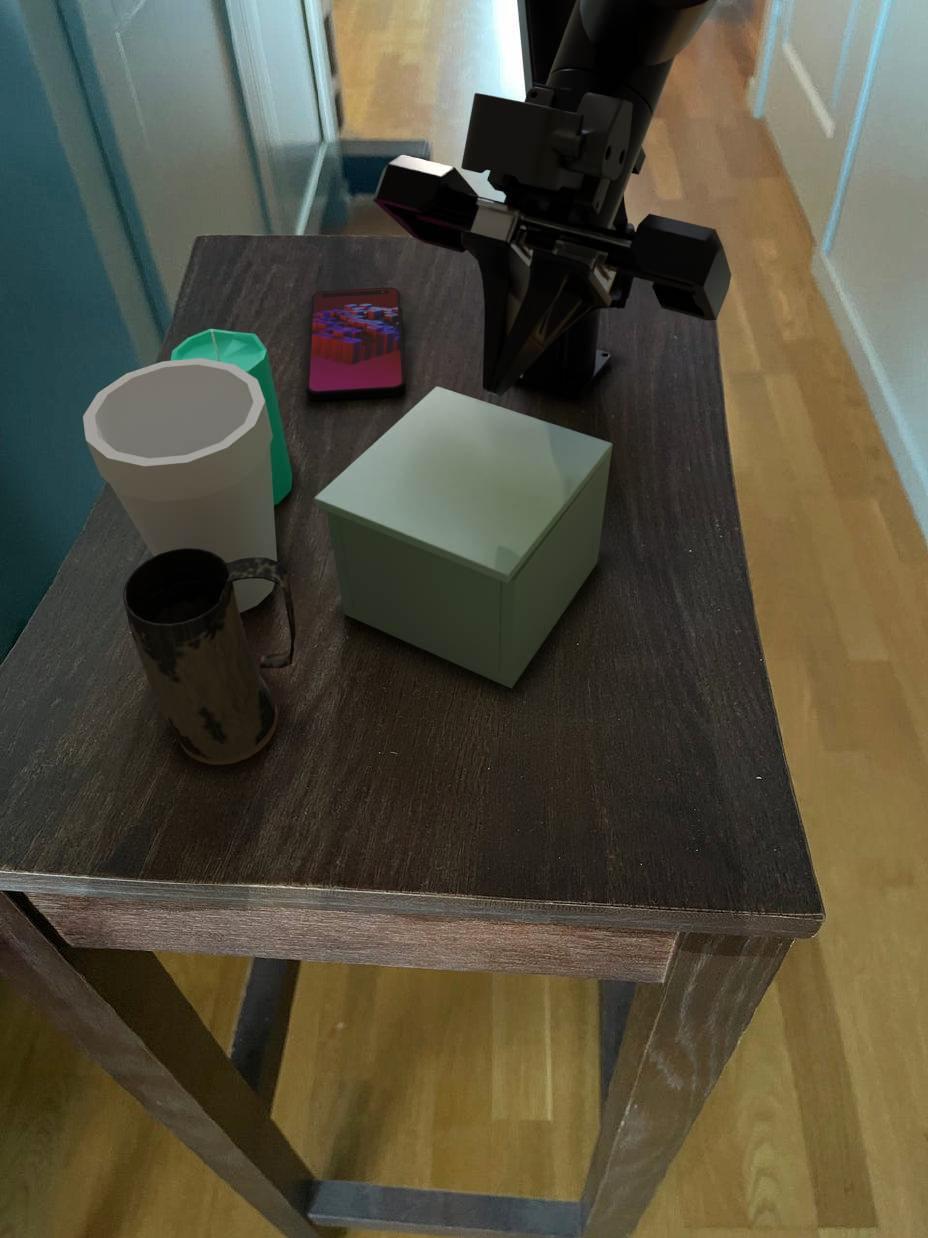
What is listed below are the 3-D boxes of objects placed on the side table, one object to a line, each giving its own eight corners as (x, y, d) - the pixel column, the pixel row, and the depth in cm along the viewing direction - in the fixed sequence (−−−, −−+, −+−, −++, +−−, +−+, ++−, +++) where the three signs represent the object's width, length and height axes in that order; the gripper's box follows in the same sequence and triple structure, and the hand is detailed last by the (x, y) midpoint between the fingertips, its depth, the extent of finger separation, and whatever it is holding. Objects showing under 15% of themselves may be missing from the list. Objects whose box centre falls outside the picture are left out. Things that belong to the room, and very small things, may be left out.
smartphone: (304, 393, 70) (310, 290, 79) (306, 403, 70) (312, 300, 80) (406, 387, 70) (399, 285, 80) (407, 397, 71) (400, 295, 80)
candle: (276, 518, 62) (240, 363, 53) (193, 508, 63) (144, 353, 54) (304, 462, 66) (275, 309, 57) (225, 453, 66) (185, 301, 57)
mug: (166, 768, 49) (94, 619, 40) (182, 685, 52) (119, 532, 43) (315, 760, 49) (276, 610, 40) (320, 678, 53) (286, 524, 44)
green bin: (511, 689, 52) (515, 581, 45) (344, 614, 56) (324, 505, 49) (597, 562, 58) (611, 452, 52) (442, 503, 62) (436, 394, 56)
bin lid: (507, 584, 44) (508, 575, 44) (314, 506, 48) (313, 497, 48) (611, 451, 52) (612, 443, 51) (436, 394, 56) (436, 385, 55)
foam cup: (326, 547, 60) (294, 375, 50) (260, 651, 54) (209, 480, 44) (198, 516, 62) (144, 347, 52) (122, 614, 56) (45, 443, 46)
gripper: (376, -26, 43) (269, 300, 45) (764, 35, 36) (617, 413, 38) (465, 100, 53) (375, 360, 55) (780, 165, 47) (664, 457, 49)
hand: (491, 393), depth 49 cm, fingers closed
